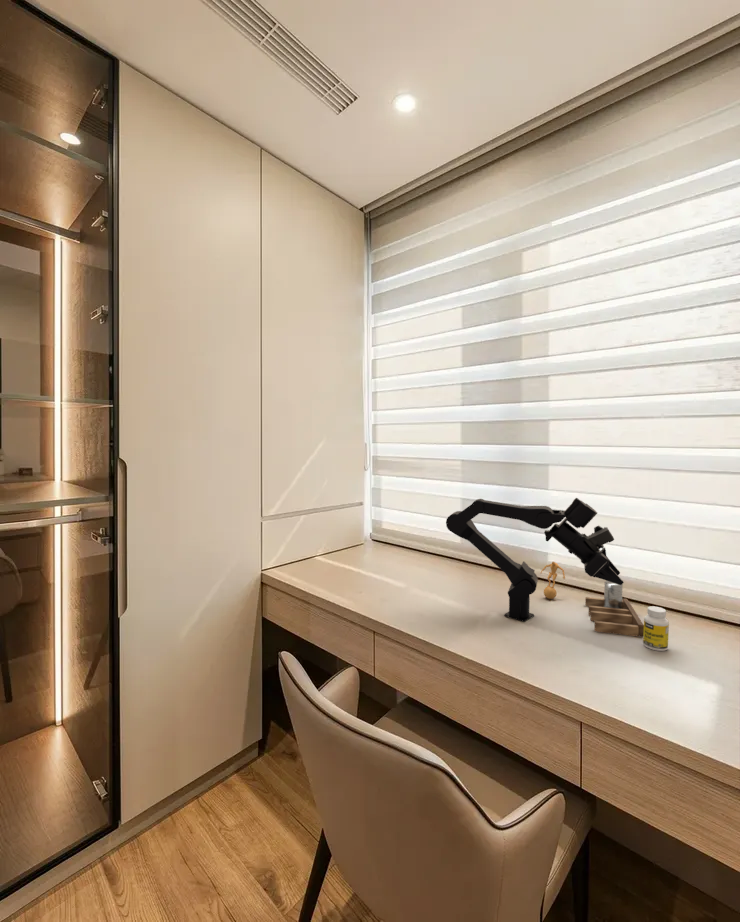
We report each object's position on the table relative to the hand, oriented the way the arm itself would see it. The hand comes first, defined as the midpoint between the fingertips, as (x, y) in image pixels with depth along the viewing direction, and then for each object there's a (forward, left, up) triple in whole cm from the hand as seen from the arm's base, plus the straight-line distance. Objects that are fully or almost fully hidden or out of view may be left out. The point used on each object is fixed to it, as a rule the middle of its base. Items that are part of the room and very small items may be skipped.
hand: (620, 578), depth 127 cm
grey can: (+13, +6, -15) cm, 20 cm away
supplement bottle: (-4, -10, -15) cm, 18 cm away
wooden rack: (+7, +4, -15) cm, 17 cm away
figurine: (+12, +24, -15) cm, 31 cm away
